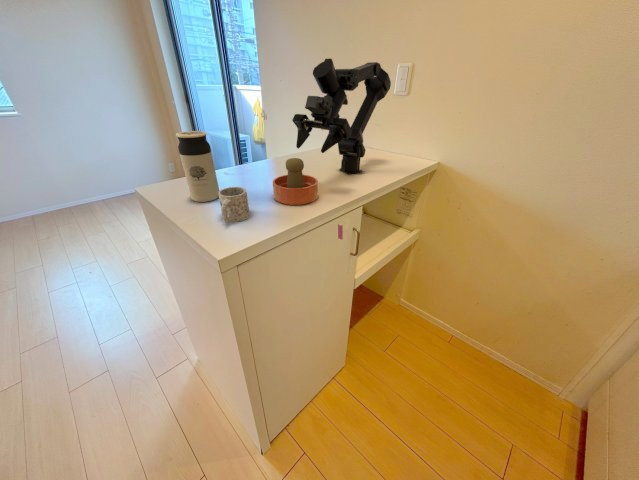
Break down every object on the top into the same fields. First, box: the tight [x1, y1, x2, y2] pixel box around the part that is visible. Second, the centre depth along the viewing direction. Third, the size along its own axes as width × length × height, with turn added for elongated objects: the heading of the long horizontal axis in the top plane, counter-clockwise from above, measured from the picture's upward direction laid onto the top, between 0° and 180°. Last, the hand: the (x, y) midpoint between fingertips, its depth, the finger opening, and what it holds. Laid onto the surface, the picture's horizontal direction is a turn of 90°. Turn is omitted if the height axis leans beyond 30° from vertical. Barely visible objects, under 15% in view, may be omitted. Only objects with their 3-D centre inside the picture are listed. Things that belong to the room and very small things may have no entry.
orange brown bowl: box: [272, 174, 319, 206], centre depth 77 cm, size 13×13×5 cm
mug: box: [218, 186, 251, 224], centre depth 64 cm, size 10×7×7 cm, turn 174°
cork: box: [285, 157, 305, 188], centre depth 75 cm, size 6×6×11 cm
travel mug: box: [175, 130, 220, 203], centre depth 72 cm, size 8×8×18 cm
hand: (309, 149), depth 76 cm, fingers open, 9 cm apart
